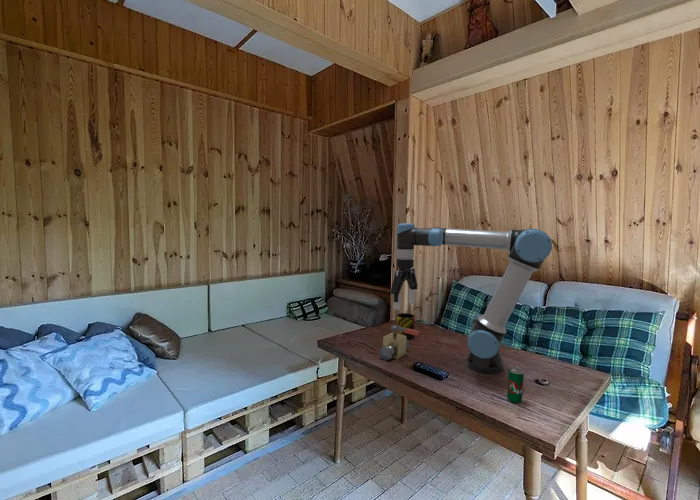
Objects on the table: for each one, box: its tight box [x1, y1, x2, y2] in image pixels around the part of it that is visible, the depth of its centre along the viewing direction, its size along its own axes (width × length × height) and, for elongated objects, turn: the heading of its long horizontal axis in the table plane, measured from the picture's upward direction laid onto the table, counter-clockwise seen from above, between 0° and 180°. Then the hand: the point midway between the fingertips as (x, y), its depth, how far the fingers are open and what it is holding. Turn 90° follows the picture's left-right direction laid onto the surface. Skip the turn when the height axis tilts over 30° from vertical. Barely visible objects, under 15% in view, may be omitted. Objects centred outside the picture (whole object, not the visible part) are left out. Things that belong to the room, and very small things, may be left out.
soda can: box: [506, 365, 525, 404], centre depth 123 cm, size 5×5×12 cm
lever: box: [390, 324, 420, 337], centre depth 160 cm, size 14×4×5 cm, turn 52°
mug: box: [396, 312, 416, 341], centre depth 190 cm, size 10×14×12 cm
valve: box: [378, 332, 410, 361], centre depth 164 cm, size 17×8×9 cm, turn 142°
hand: (404, 306), depth 152 cm, fingers open, 12 cm apart
